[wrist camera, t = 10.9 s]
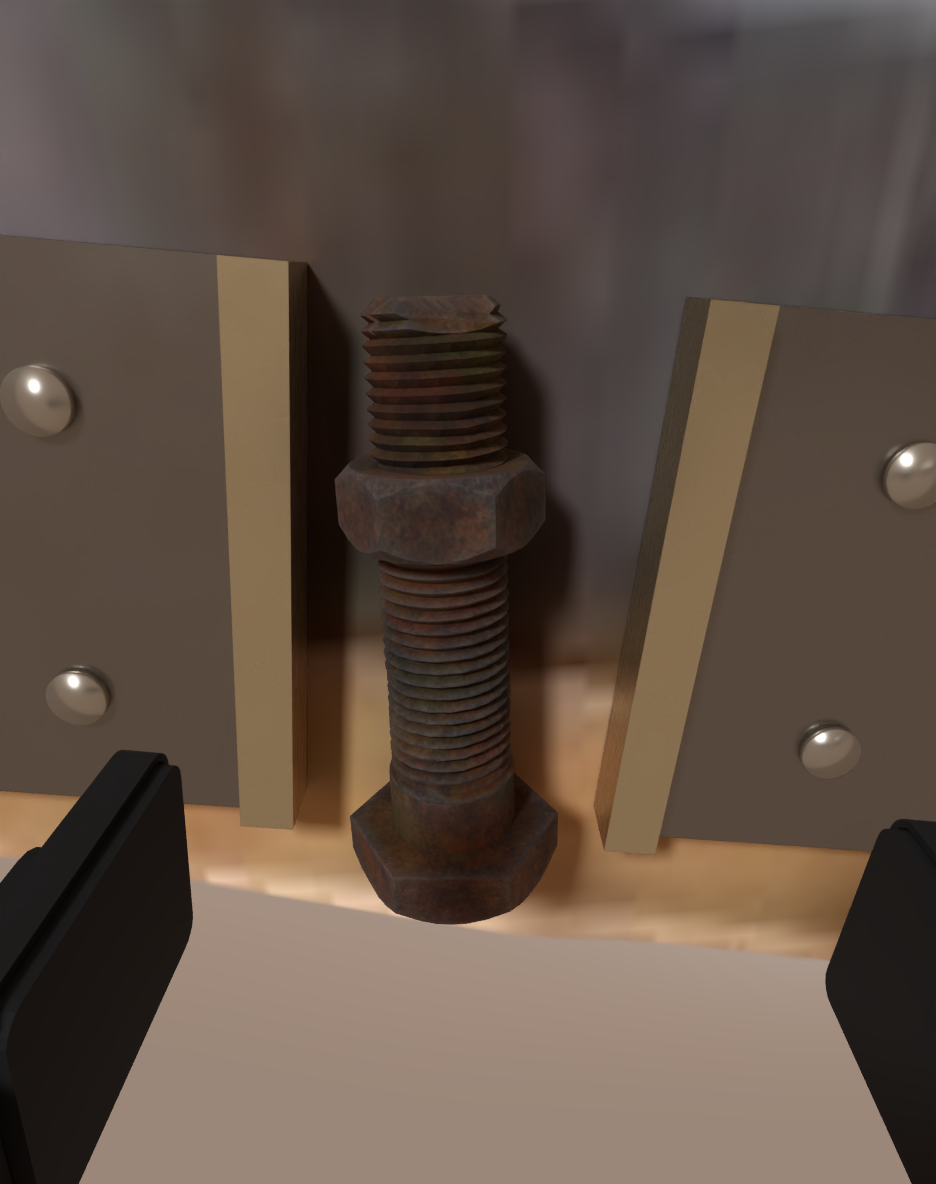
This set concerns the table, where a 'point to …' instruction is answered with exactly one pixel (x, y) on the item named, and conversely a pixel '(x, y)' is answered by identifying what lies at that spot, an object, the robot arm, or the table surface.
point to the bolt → (445, 612)
